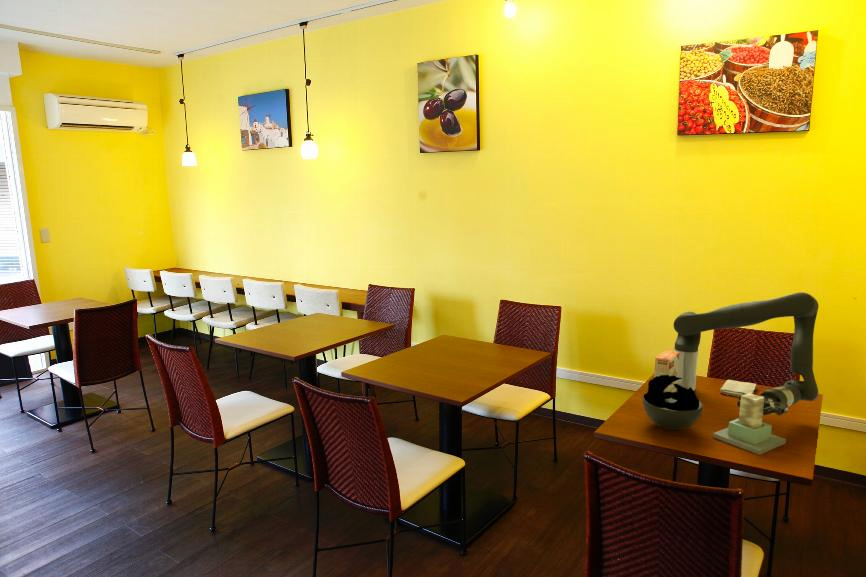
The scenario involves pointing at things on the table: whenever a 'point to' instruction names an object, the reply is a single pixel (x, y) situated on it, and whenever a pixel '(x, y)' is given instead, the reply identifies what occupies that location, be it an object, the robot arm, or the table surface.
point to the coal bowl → (671, 404)
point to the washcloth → (737, 388)
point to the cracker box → (667, 367)
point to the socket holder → (750, 437)
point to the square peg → (751, 411)
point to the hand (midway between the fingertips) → (751, 408)
